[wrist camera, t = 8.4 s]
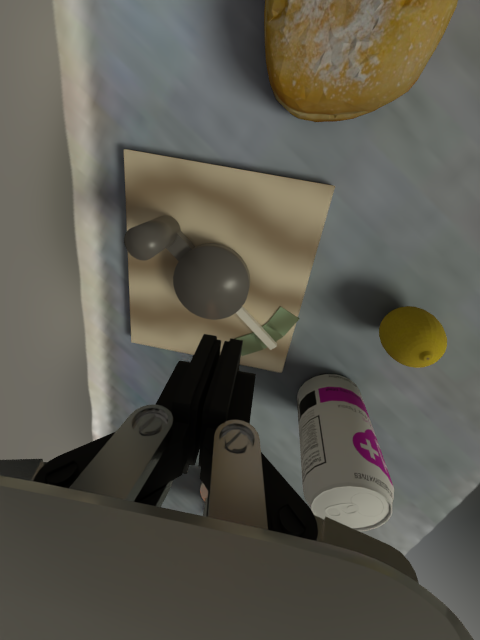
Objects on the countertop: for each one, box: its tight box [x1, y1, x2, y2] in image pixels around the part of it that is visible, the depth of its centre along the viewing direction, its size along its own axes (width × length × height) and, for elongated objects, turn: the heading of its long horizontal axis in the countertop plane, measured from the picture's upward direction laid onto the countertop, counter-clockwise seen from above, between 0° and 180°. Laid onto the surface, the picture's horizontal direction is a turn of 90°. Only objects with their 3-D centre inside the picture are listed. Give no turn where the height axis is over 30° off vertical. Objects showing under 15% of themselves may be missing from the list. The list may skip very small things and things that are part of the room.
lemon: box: [379, 306, 447, 367], centre depth 29 cm, size 6×6×8 cm
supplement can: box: [297, 374, 394, 531], centre depth 32 cm, size 8×8×15 cm
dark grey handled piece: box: [124, 215, 277, 350], centre depth 29 cm, size 19×8×6 cm, turn 42°
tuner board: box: [124, 149, 335, 373], centre depth 32 cm, size 22×20×1 cm
